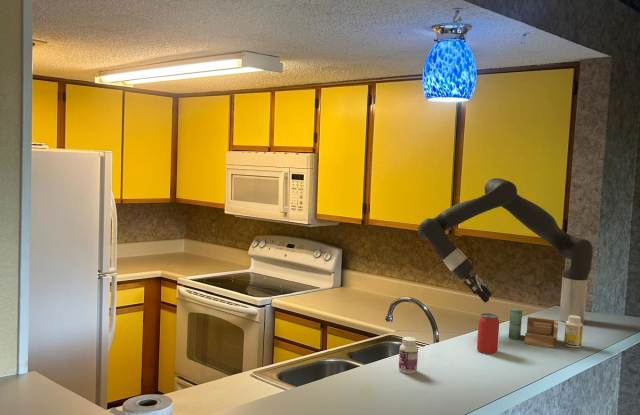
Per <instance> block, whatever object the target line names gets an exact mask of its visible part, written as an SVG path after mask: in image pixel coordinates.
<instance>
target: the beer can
mask: <svg viewBox="0 0 640 415" xmlns="http://www.w3.org/2000/svg"><path fill="white" fill-rule="evenodd" d="M477 324H478V326H477V338H476V339H477V341H476V350H477V351H478V352H480V353H482V354H485V355H493V354H494V355H495V354H496V353H497V352H498V348H499V347H498V346H499V335H500V334H499V331H500V320H499V316H498V315H497V314H493V313H489V312H486V313H481V314H480V317H479V319H478V323H477Z"/></svg>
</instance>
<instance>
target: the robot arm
mask: <svg viewBox="0 0 640 415" xmlns="http://www.w3.org/2000/svg"><path fill="white" fill-rule="evenodd" d="M500 207H501V208H503V209H504V210H506V211H508V212H509V213H510V214H511V215H512V216H513V217H514V218H515V219H516V220H517V221H519V223H521V224H523V226H525V227H526V228H527V229H528V230H530V231H531V232H533V233H534V234H535V235H537V236H538V237H540V238H541V239H542V240H544V241H545V242H547V243H548V244H550V245H551V246H552V247H553V248H555V250H556V251H557V252H558V253H559V254H560V255H561V256H563V257H564V258H566V260H570V266H569V268H565V269H563V270H562V277H561V278H562V280H561V290H560V291H561V293H560V303H559V315H558V318H559V320H558V321H561V322H565V323H566V321H568V317H569V315H575V316H579V317H581V323H582V324H584V323H585V317H586V316H585V314H586V304H587V292H588V291H587V290H588V278H589V274H590V273H591V270H592V261H593V253H594V250H593V249H594V248H593V244H592V243H591V242H590V241H589V240H588V239H585V238H581V237H576V236H574V235H571V234H569V233H567V232H566V231H564V230H563V229H562V228H560V226H559V225H558V223H557V221H556V219H555V218H554V216H553V215H552V214H550V213H549V212H548V211H547V210H545V209H544V208H542V207H541V206H539V205H537V204H536V203H534V202H532V201H530V200H529V199H526V198H524V197H522V195H521V196H520V194H518V189H517V186H516V184H515V183H513V182H512V181H510V180H507V179H503V178H500V177H499V178H498V177H496V178H491V179H489V180H488V181H487V182H486V183H485V185H484V194H483V195H481V196H478V197H476V198H472V199H469V200H464V201H463V202H459V203H457V204H454V205H452V206H450V207H449V208H446V209H444V210H443V211H442V212H440V213H439V214H437V216H434V217H432V218H431V217H430V218H426V219H423V220H422V221H421V223H420V224H419V226H418V228H417V235H418V236H419V238H420V239H421V240H424V241H429V243H430V244H431V245H432V247H433V250H434V252H435V254H436V255H437V256H438V257H439V258H440V259H441V260H442V262H444V265H446V267H447V268H448V269H449V271H450V272H451V273H452V274H453V275H454V276H455V277H456V279H458V281H461V280H462V279H465V280H464V281H463V282H464V284H465V285H466V287H468V288H469V290H470V291H471V292H472V293H473V294H474V295H476V296H478V297H479V298H480V299H481V300H482V302H483V303H485V304H486V303H487V302H488V301H489V300H490V297H492V296H493V293H492V292H491V290H490V289H489V288H488V286H487V285H486V282H485V281H484V280H483V278H481V277H480V275H479V274H478V273H477V272H476V271H473V270H474V269H475V265H474V264H473V263H472V262H471V261H470V259H469V258H468V257H467V255H465V254H464V253H463V251H462V250H460V248H458V247H457V245H455V243H454V242H453V241H452V240H451V239H450V238H449V236H448V235H447V233H446V232H447V231H448V230H450V229H453V228H454V227H457V226H459V225H460V224H462V223H464V222H466V221H468V220H470V219H473V218H474V217H476V216H479V215H482V214H484V213H486V212H488V211H489V212H490V211H492V210H494V209H497V208H500Z"/></svg>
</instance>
